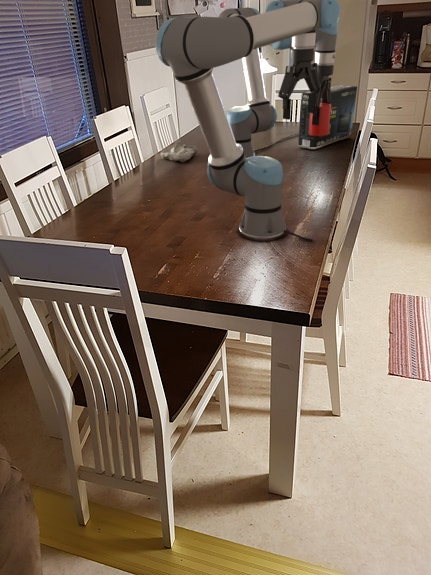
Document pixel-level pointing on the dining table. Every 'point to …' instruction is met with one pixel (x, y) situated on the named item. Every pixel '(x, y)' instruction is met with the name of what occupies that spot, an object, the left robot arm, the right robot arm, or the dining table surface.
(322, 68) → the left robot arm
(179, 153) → the fossil
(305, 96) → the router box
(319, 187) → the dining table surface
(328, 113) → the canister
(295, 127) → the dining table surface
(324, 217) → the dining table surface
